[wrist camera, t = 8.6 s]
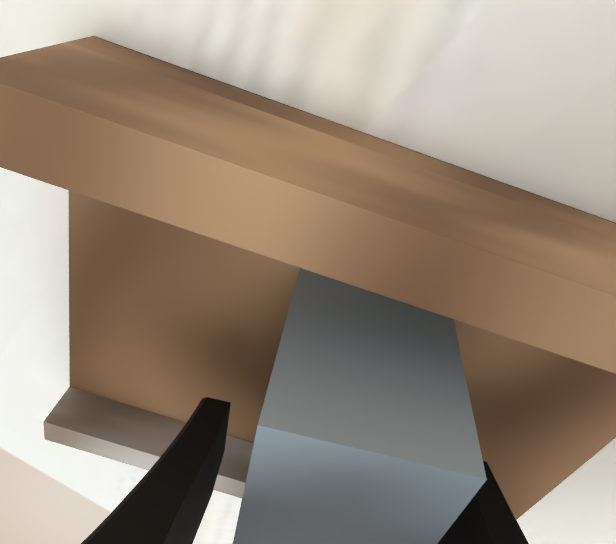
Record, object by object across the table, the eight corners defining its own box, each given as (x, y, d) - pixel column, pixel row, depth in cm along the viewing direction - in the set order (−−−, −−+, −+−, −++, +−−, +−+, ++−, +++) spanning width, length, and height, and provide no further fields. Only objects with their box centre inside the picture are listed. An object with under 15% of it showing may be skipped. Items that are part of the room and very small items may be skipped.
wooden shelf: (755, 273, 11) (909, 398, 8) (486, 515, 19) (508, 632, 15) (93, 35, 10) (-44, 67, 7) (84, 391, 18) (16, 488, 14)
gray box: (449, 301, 12) (487, 479, 8) (384, 437, 15) (385, 611, 11) (300, 265, 12) (257, 425, 8) (268, 409, 15) (226, 573, 11)
